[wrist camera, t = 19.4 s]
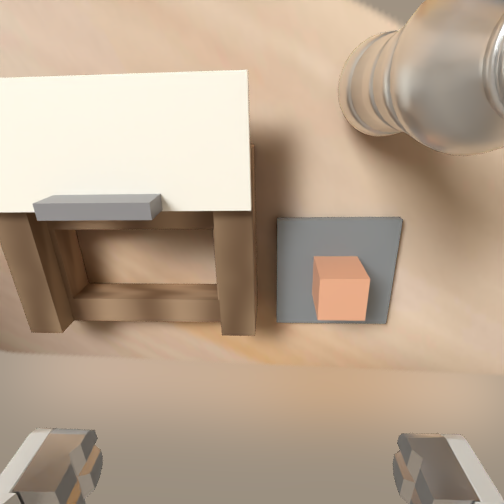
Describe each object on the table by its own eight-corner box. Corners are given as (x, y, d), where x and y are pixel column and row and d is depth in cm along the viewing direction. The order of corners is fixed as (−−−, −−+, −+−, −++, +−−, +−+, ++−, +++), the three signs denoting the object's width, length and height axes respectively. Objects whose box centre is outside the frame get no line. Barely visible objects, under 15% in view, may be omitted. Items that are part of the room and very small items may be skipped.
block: (311, 293, 33) (317, 320, 29) (313, 256, 31) (320, 278, 27) (353, 293, 33) (364, 320, 28) (357, 256, 31) (370, 279, 27)
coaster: (276, 317, 35) (276, 322, 34) (277, 217, 31) (277, 220, 30) (383, 319, 35) (385, 323, 34) (399, 216, 30) (402, 219, 29)
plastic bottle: (348, 147, 28) (493, 225, 10) (319, 64, 26) (436, -38, 7) (426, 111, 27) (768, 123, 8) (403, 20, 24) (801, -241, 6)
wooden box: (62, 303, 36) (31, 332, 31) (17, 148, 30) (-30, 156, 25) (257, 305, 35) (255, 335, 30) (254, 144, 28) (250, 151, 24)
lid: (-14, 208, 26) (-52, 222, 23) (-59, 81, 23) (-111, 77, 20) (251, 206, 25) (248, 220, 22) (248, 71, 22) (244, 65, 18)
